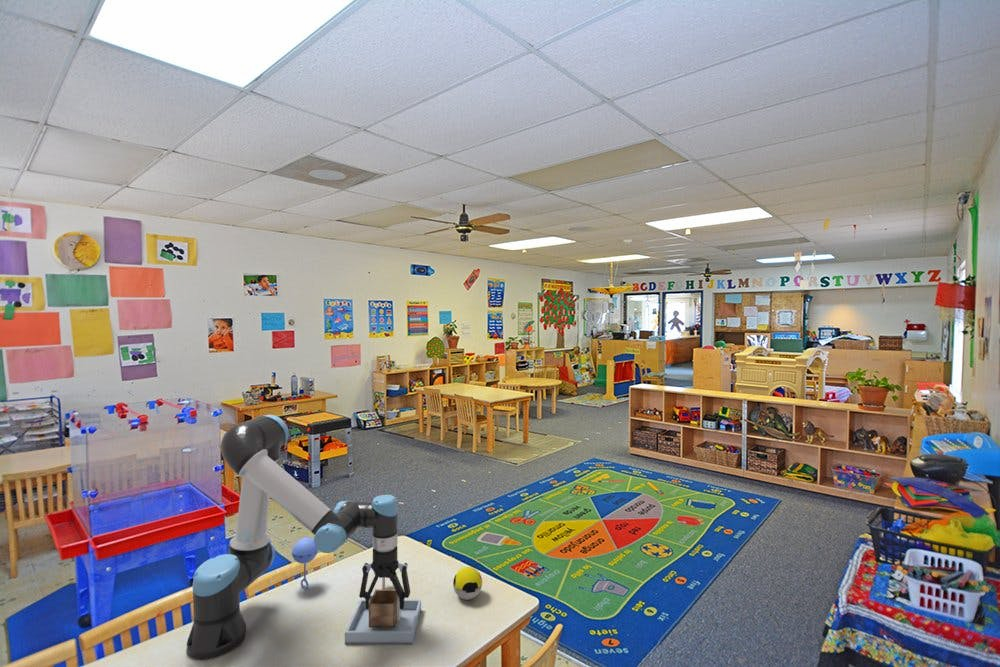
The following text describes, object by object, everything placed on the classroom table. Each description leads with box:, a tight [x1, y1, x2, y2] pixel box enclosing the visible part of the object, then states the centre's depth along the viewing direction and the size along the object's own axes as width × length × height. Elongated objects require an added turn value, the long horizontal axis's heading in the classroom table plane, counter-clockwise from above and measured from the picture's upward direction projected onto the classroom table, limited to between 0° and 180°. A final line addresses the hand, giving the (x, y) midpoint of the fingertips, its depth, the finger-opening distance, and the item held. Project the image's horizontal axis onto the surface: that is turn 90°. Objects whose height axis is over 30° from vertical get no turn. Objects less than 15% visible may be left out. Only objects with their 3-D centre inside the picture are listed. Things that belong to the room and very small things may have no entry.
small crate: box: [369, 588, 398, 627], centre depth 144 cm, size 8×8×7 cm
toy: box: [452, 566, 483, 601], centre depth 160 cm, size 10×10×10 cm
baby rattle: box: [291, 537, 319, 590], centre depth 164 cm, size 9×9×18 cm
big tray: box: [344, 599, 422, 645], centre depth 145 cm, size 20×16×4 cm
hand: (385, 618), depth 145 cm, fingers closed on small crate, 8 cm apart
